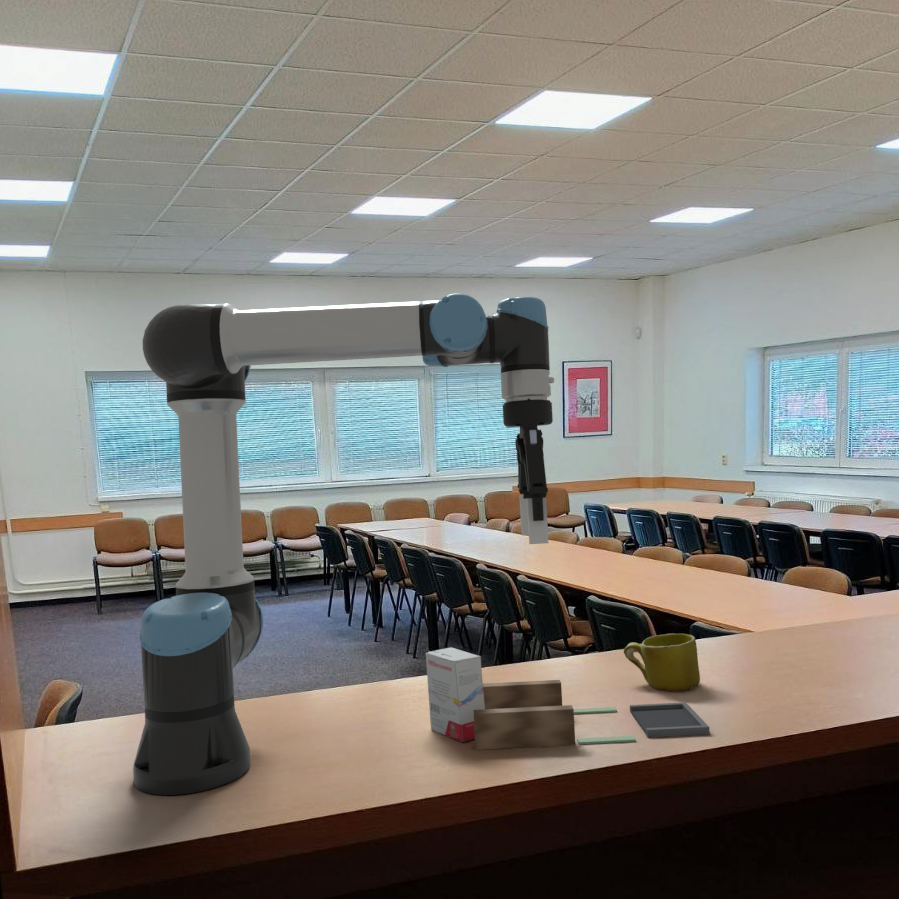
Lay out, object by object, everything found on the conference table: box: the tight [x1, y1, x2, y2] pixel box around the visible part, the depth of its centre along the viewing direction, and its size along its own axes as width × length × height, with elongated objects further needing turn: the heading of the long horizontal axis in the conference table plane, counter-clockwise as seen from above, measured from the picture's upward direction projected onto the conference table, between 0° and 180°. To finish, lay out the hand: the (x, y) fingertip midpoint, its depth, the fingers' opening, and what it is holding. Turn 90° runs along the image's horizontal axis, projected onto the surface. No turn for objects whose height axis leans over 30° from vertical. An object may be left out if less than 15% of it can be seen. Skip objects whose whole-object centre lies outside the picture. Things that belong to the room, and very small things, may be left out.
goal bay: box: [573, 706, 637, 745], centre depth 120 cm, size 8×15×1 cm, turn 0°
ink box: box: [425, 647, 485, 743], centre depth 120 cm, size 9×5×12 cm, turn 34°
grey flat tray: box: [629, 701, 711, 738], centre depth 120 cm, size 9×12×1 cm
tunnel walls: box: [473, 679, 576, 751], centre depth 120 cm, size 14×15×5 cm
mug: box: [623, 633, 701, 693], centre depth 139 cm, size 12×10×10 cm
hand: (534, 539), depth 122 cm, fingers open, 13 cm apart
